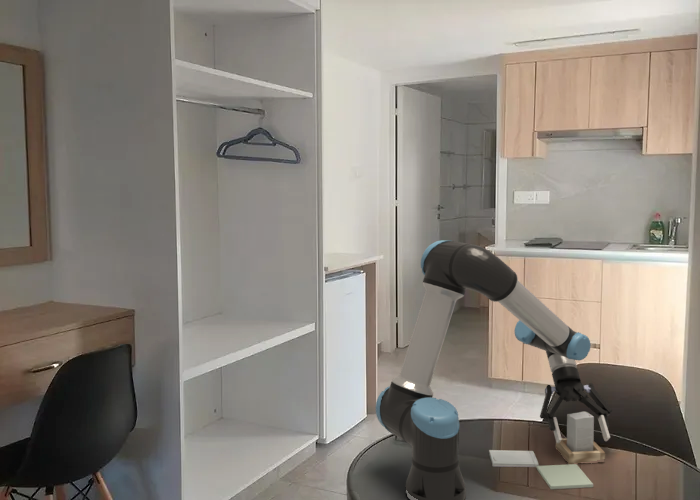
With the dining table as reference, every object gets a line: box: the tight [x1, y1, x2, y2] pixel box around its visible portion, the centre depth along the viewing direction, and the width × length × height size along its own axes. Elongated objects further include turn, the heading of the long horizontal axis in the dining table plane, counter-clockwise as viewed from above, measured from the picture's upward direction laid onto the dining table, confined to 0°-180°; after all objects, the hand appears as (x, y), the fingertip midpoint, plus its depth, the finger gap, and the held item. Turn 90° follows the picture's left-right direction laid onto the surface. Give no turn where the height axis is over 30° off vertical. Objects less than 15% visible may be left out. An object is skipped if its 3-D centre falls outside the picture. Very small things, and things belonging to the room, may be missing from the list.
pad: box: [536, 463, 594, 490], centre depth 173 cm, size 11×11×1 cm
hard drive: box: [488, 449, 540, 468], centre depth 184 cm, size 2×8×12 cm
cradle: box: [555, 437, 606, 465], centre depth 185 cm, size 10×10×3 cm
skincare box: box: [566, 411, 595, 452], centre depth 185 cm, size 6×4×12 cm
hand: (583, 440), depth 182 cm, fingers open, 13 cm apart
